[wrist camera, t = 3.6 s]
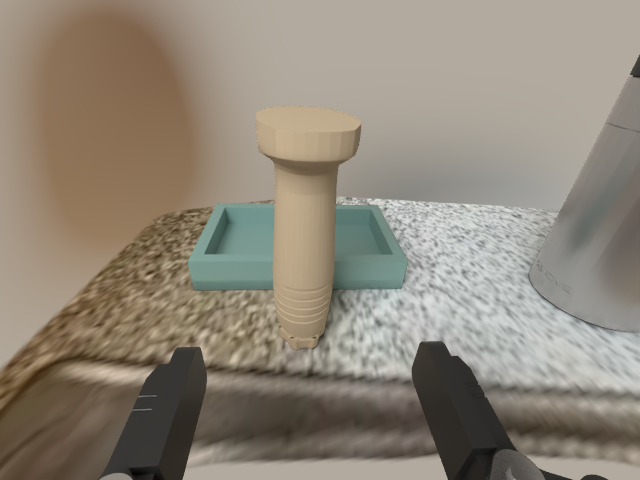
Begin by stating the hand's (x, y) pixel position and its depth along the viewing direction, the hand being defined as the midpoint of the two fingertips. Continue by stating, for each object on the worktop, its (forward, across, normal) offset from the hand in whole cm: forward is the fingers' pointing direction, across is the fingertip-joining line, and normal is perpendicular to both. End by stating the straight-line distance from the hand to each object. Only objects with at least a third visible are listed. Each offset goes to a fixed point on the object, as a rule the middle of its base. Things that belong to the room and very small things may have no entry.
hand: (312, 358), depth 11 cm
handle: (+8, 0, +8) cm, 12 cm away
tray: (+19, 0, +8) cm, 20 cm away
